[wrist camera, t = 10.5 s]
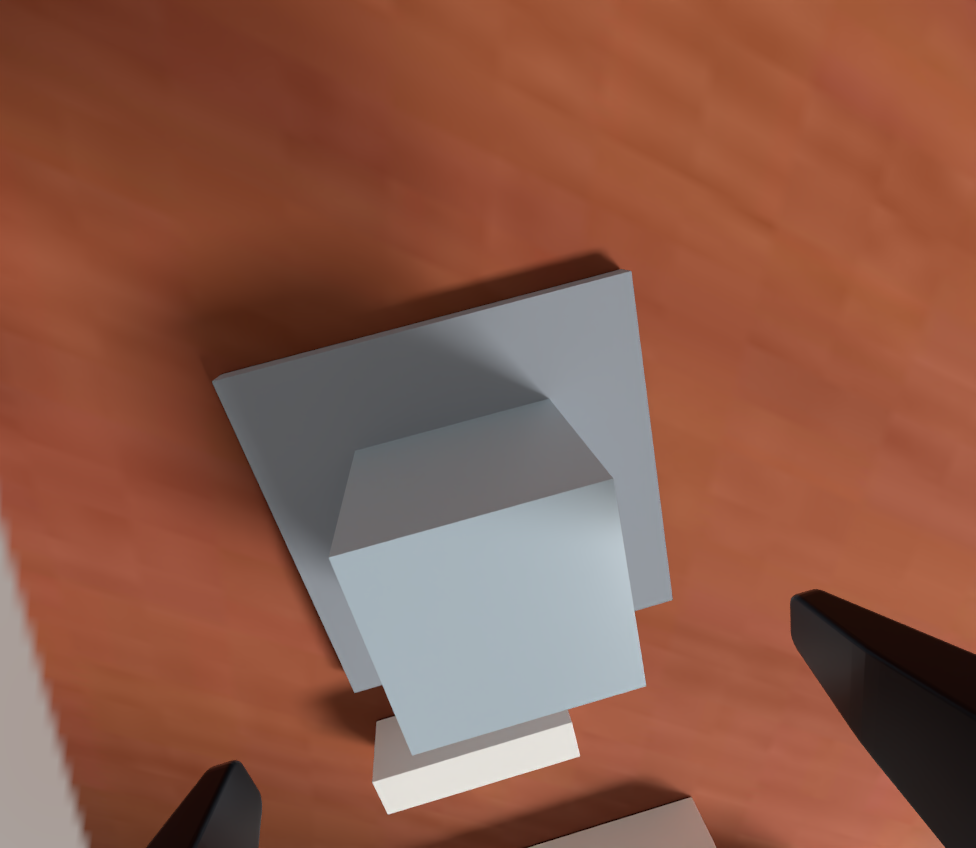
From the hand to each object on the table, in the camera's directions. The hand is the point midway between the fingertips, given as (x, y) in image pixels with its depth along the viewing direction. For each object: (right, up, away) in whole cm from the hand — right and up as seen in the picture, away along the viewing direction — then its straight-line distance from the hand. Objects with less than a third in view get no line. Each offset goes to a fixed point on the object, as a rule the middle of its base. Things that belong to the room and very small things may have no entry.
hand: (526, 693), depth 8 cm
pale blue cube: (-1, +2, +6) cm, 6 cm away
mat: (-1, +2, +6) cm, 7 cm away
